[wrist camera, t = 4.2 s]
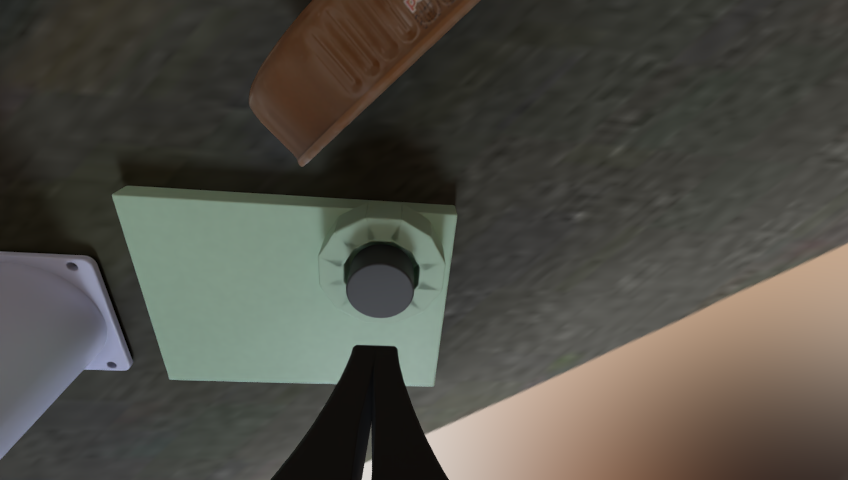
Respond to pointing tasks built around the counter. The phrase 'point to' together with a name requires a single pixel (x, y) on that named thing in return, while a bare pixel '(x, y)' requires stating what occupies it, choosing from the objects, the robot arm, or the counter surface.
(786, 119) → the counter surface
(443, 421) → the counter surface
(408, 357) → the pale green flat piece
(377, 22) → the tin
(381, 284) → the button
